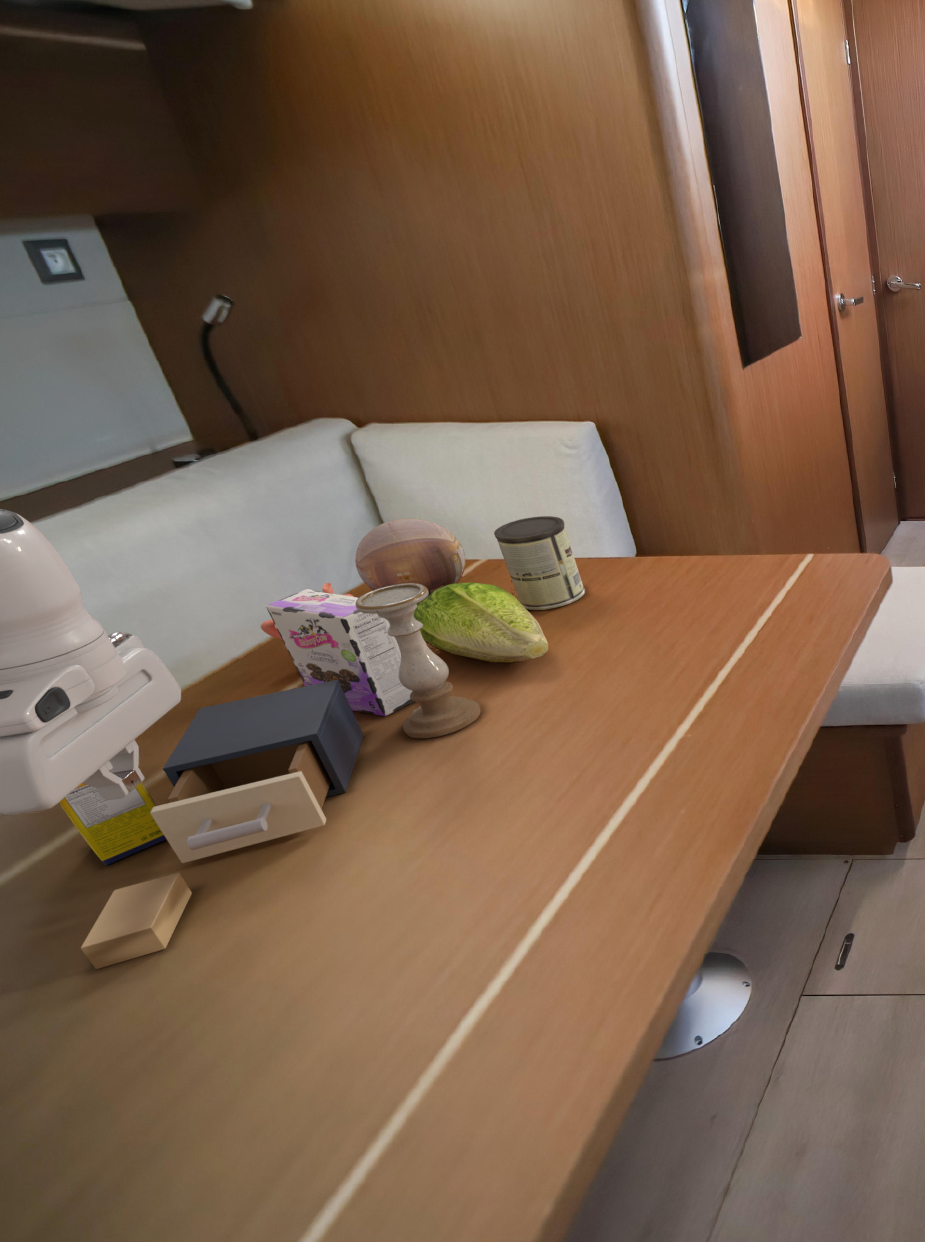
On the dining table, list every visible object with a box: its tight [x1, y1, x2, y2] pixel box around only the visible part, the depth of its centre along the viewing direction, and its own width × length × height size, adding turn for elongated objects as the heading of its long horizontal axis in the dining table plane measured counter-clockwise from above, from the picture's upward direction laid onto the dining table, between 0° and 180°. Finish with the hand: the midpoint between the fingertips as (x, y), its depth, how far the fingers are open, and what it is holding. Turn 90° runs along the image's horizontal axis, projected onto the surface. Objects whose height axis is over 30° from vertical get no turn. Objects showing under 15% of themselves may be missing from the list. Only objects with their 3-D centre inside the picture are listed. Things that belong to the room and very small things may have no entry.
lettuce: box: [413, 582, 549, 663], centre depth 142 cm, size 12×24×13 cm
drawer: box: [150, 741, 331, 864], centre depth 104 cm, size 18×12×7 cm
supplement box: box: [58, 770, 167, 866], centre depth 101 cm, size 6×6×11 cm
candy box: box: [265, 588, 415, 717], centre depth 128 cm, size 14×6×16 cm, turn 76°
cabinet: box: [162, 680, 365, 798], centre depth 113 cm, size 15×14×9 cm
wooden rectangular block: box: [80, 872, 193, 970], centre depth 92 cm, size 5×9×3 cm, turn 32°
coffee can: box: [493, 515, 586, 611], centre depth 159 cm, size 10×10×14 cm
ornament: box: [354, 518, 467, 602], centre depth 158 cm, size 15×15×15 cm
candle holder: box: [355, 583, 481, 739], centre depth 122 cm, size 9×9×20 cm
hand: (125, 790), depth 90 cm, fingers closed
